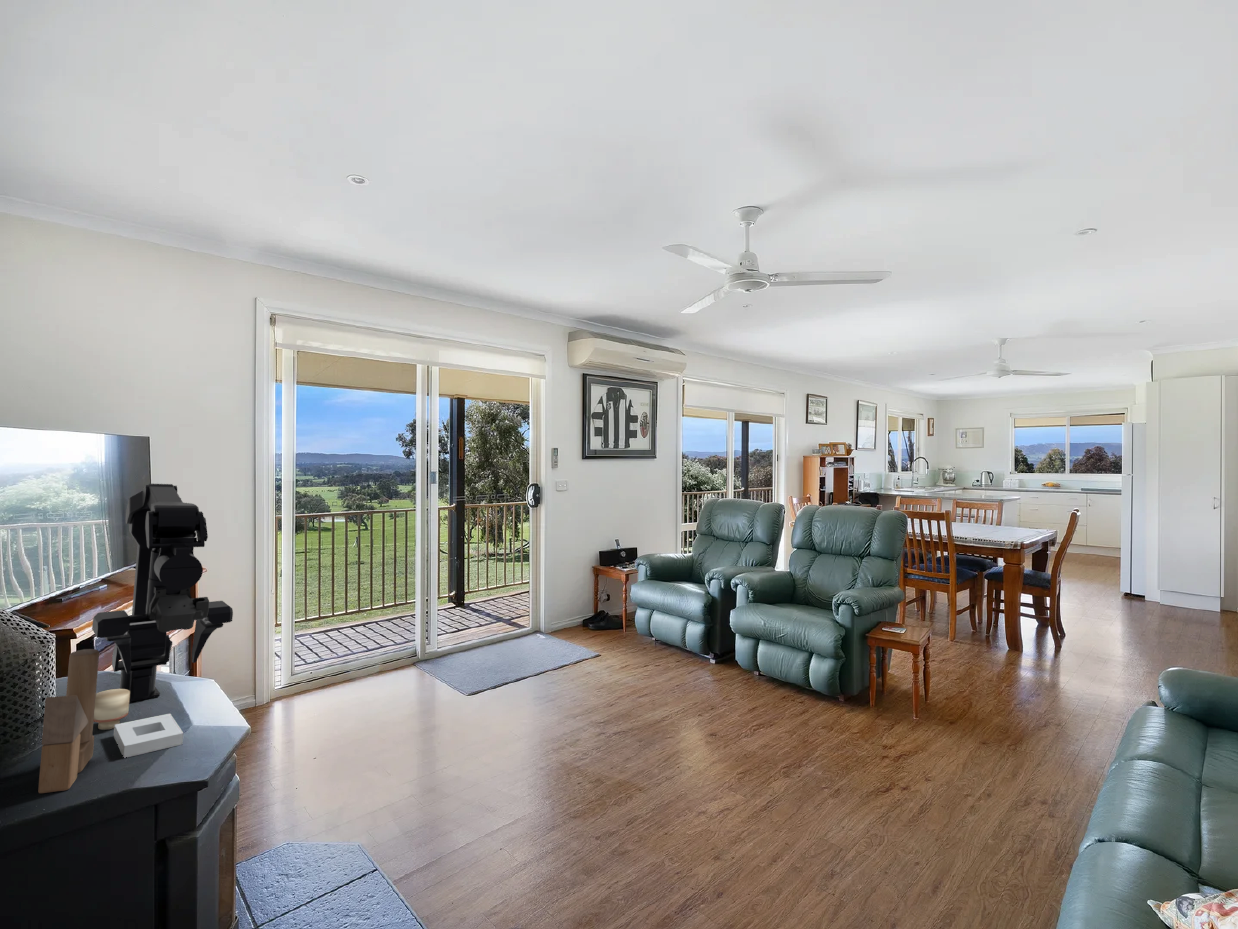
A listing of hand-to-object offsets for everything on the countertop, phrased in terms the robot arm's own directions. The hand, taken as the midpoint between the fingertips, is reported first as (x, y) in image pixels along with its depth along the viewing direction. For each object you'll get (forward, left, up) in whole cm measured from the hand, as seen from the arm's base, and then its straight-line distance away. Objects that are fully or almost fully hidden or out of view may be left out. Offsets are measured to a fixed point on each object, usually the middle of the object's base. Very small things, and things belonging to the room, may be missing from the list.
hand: (162, 667), depth 104 cm
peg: (-13, -5, -14) cm, 19 cm away
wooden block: (+3, -12, -14) cm, 18 cm away
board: (-3, -1, -14) cm, 14 cm away
